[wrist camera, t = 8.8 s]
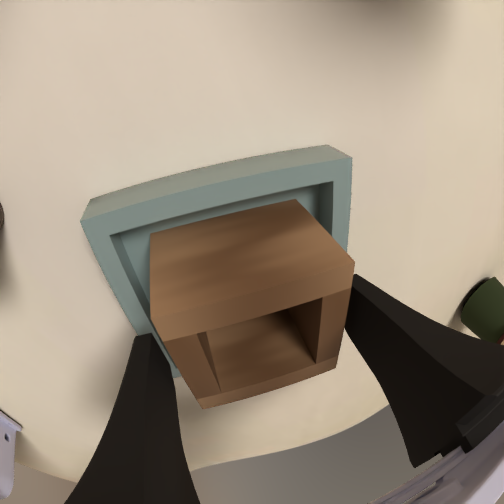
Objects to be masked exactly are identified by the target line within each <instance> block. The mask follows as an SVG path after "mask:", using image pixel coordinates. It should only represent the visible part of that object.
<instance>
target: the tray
mask: <svg viewBox="0 0 504 504" xmlns="http://www.w3.org/2000/svg"><path fill="white" fill-rule="evenodd" d="M351 184H352V157H350V156H349V155H347V154H345V153H343V152H341V151H339V150H337V149H336V148H334V147H332V146H330V145H322V146H315V147H308V148H302V149H295V150H289V151H283V152H277V153H271V154H266V155H260V156H255V157H250V158H245V159H240V160H235V161H230V162H225V163H221V164H216V165H212V166H207V167H203V168H199V169H194V170H190V171H186V172H182V173H178V174H174V175H171V176H167V177H163V178H159V179H156V180H152V181H148V182H145V183H141V184H138V185H134V186H131V187H128V188H124V189H121V190H118V191H115V192H112V193H108V194H105V195H102V196H99V197H96V198H93V199H90V201H89V203H88V205H87V208H86V210H85V212H84V214H83V216H82V218H81V220H80V223H81V225H82V227H83V230H84V232H85V234H86V237H87V239H88V241H89V243H90V246H91V248H92V250H93V252H94V254H95V256H96V259H97V261H98V263H99V265H100V267H101V269H102V271H103V273H104V275H105V277H106V279H107V281H108V283H109V285H110V287H111V288H112V290H113V292H114V294H115V296H116V298H117V300H118V302H119V303H120V305H121V307H122V309H123V311H124V312H125V314H126V316H127V318H128V319H129V321H130V323H131V324H132V326H133V328H134V330H135V331H136V333H137V335H138V336H139V335H143V334H147V333H152V334H153V336H154V338H155V339H156V341H157V343H158V345H159V346H160V348H161V350H162V352H163V353H164V355H165V357H166V358H167V360H168V362H169V363H170V367H171V371H172V376H173V378H176V377H180V376H182V375H181V373H180V372H179V370H178V368H177V366H176V365H175V363H174V361H173V359H172V358H171V356H170V354H169V352H168V350H167V349H166V347H165V345H164V343H163V341H162V339H161V337H160V336H159V334H158V332H157V330H156V328H155V326H154V324H153V322H152V320H151V313H150V233H154V232H158V231H162V230H165V229H169V228H173V227H177V226H181V225H185V224H189V223H193V222H197V221H201V220H205V219H209V218H213V217H217V216H221V215H225V214H229V213H234V212H238V211H242V210H247V209H251V208H255V207H260V206H264V205H269V204H273V203H278V202H282V201H287V200H292V199H296V200H297V201H298V202H299V203H300V204H301V205H302V206H303V207H304V208H305V209H306V210H307V211H308V212H309V213H310V214H311V215H312V216H313V217H314V218H315V219H316V220H317V221H318V222H319V223H320V224H321V225H322V227H323V228H324V229H325V230H326V231H327V232H328V233H329V234H330V235H331V236H332V237H333V238H334V239H335V240H336V242H337V243H338V244H339V245H340V246H341V247H342V248H343V249H344V250H345V251H346V253H347V244H348V233H349V220H350V204H351Z"/></svg>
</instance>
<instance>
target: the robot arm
mask: <svg viewBox="0 0 504 504" xmlns="http://www.w3.org/2000/svg"><path fill="white" fill-rule="evenodd" d="M344 328H345V330H346V332H347V334H348V336H349V337H350V339H351V340H352V342H353V343H354V345H355V346H356V348H357V349H358V351H359V353H360V354H361V355H362V357H363V358H364V360H365V362H366V363H367V365H368V366H369V368H370V369H371V371H372V372H373V374H374V375H375V377H376V378H377V380H378V382H379V384H380V385H381V387H382V389H383V391H384V393H385V396H386V398H387V400H388V402H389V404H390V406H391V408H392V411H393V413H394V415H395V418H396V420H397V423H398V425H399V428H400V431H401V433H402V436H403V439H404V442H405V445H406V448H407V452H408V455H409V459H410V462H411V464H412V465H413V467H414V468H416V467H418V466H419V465H421V464H423V463H425V462H426V461H428V460H429V459H431V458H433V457H434V456H436V455H437V454H439V453H441V455H442V456H443V458H442V459H441V460H439V461H438V462H436V463H435V464H433V465H432V466H430V467H429V468H428V469H426V470H425V471H423V472H422V473H420V474H418V475H417V476H416V477H414V478H412V479H411V480H409V481H407V482H406V483H404V484H402V485H401V486H399V487H397V488H396V489H394V490H392V491H390V492H388V493H387V494H385V495H383V496H381V497H379V498H377V499H376V500H373V501H371V502H370V503H367V504H401V503H403V502H405V501H406V500H408V499H410V498H411V497H413V496H414V497H413V498H412V499H410V500H409V501H408V502H406V503H405V504H495V502H496V501H497V500H498V498H499V497H500V496H501V495H502V493H503V492H504V345H501V344H496V343H492V342H488V341H485V340H481V339H478V338H475V337H472V336H469V335H466V334H463V333H461V332H458V331H456V330H453V329H451V328H448V327H446V326H444V325H442V324H440V323H438V322H436V321H434V320H432V319H430V318H428V317H426V316H424V315H422V314H420V313H419V312H417V311H415V310H413V309H412V308H410V307H408V306H406V305H405V304H403V303H401V302H400V301H398V300H397V299H395V298H393V297H392V296H390V295H389V294H387V293H386V292H384V291H382V290H381V289H379V288H378V287H376V286H375V285H373V284H372V283H370V282H368V281H367V280H365V279H364V278H362V277H361V276H359V275H357V274H354V275H353V280H352V286H351V293H350V299H349V305H348V310H347V316H346V321H345V326H344ZM21 430H22V427H21V426H20V425H18V424H17V423H16V422H14V421H13V420H12V419H10V418H9V417H8V416H6V415H5V414H4V413H2V412H1V411H0V499H5V498H6V497H7V496H9V494H10V493H11V491H12V487H13V483H14V457H15V440H16V431H21ZM435 481H436V484H435V485H434V486H432V487H430V488H428V489H426V490H424V489H425V488H427V487H428V486H429V485H431V484H433V483H434V482H435ZM422 490H424V491H422ZM421 491H422V492H421ZM419 492H421V493H419ZM418 493H419V494H418ZM416 494H417V495H416ZM415 495H416V496H415ZM64 504H200V501H199V499H198V496H197V493H196V491H195V488H194V485H193V482H192V478H191V475H190V472H189V469H188V465H187V462H186V458H185V454H184V451H183V446H182V441H181V434H180V426H179V418H178V409H177V401H176V392H175V386H174V381H173V376H172V371H171V367H170V363H169V362H168V360H167V358H166V357H165V355H164V353H163V352H162V350H161V348H160V346H159V345H158V343H157V341H156V339H155V338H154V336H153V334H152V333H147V334H143V335H139V336H136V337H135V339H134V342H133V346H132V350H131V353H130V357H129V360H128V364H127V367H126V371H125V374H124V377H123V380H122V384H121V387H120V390H119V393H118V396H117V399H116V402H115V405H114V408H113V410H112V413H111V416H110V419H109V421H108V424H107V426H106V429H105V431H104V433H103V436H102V438H101V440H100V442H99V445H98V447H97V449H96V451H95V453H94V455H93V457H92V459H91V461H90V463H89V465H88V467H87V468H86V470H85V472H84V473H83V475H82V477H81V479H80V480H79V482H78V484H77V485H76V487H75V489H74V490H73V492H72V493H71V494H70V496H69V497H68V499H67V500H66V502H65V503H64Z"/></svg>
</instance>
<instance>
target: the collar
mask: <svg viewBox="0 0 504 504" xmlns="http://www.w3.org/2000/svg"><path fill="white" fill-rule="evenodd" d="M354 266H355V261H354V260H353V259H352V258H351V257H350V256H349V255H348V254H347V253H346V251H345V250H344V249H343V248H342V247H341V246H340V245H339V244H338V243H337V242H336V240H335V239H334V238H333V237H332V236H331V235H330V234H329V233H328V232H327V231H326V230H325V229H324V228H323V227H322V225H321V224H320V223H319V222H318V221H317V220H316V219H315V218H314V217H313V216H312V215H311V214H310V213H309V212H308V211H307V210H306V209H305V208H304V207H303V206H302V205H301V204H300V203H299V202H298V201H297V200H296V199H292V200H287V201H282V202H278V203H273V204H269V205H264V206H260V207H255V208H251V209H247V210H242V211H238V212H234V213H229V214H225V215H221V216H217V217H213V218H209V219H205V220H201V221H197V222H193V223H189V224H185V225H181V226H177V227H173V228H169V229H165V230H162V231H158V232H154V233H150V313H151V320H152V322H153V324H154V326H155V328H156V330H157V332H158V334H159V336H160V337H161V339H162V341H163V343H164V345H165V347H166V349H167V350H168V352H169V354H170V356H171V358H172V359H173V361H174V363H175V365H176V366H177V368H178V370H179V372H180V373H181V375H182V377H183V378H184V380H185V382H186V383H187V385H188V387H189V388H190V390H191V392H192V393H193V395H194V396H195V398H196V400H197V401H198V403H199V404H200V406H201V407H202V409H206V408H211V407H215V406H219V405H223V404H227V403H231V402H235V401H238V400H242V399H246V398H249V397H253V396H256V395H260V394H263V393H266V392H269V391H273V390H276V389H279V388H282V387H285V386H288V385H291V384H294V383H297V382H300V381H302V380H305V379H308V378H311V377H314V376H316V375H319V374H322V373H324V372H327V371H329V370H332V369H334V368H336V364H337V360H338V355H339V351H340V346H341V341H342V337H343V332H344V326H345V321H346V316H347V310H348V305H349V299H350V293H351V286H352V280H353V273H354Z"/></svg>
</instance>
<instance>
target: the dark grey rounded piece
mask: <svg viewBox="0 0 504 504" xmlns="http://www.w3.org/2000/svg"><path fill="white" fill-rule="evenodd" d="M3 222H4V213H3V208H2V206H1V203H0V230H1V228H2V226H3Z"/></svg>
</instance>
